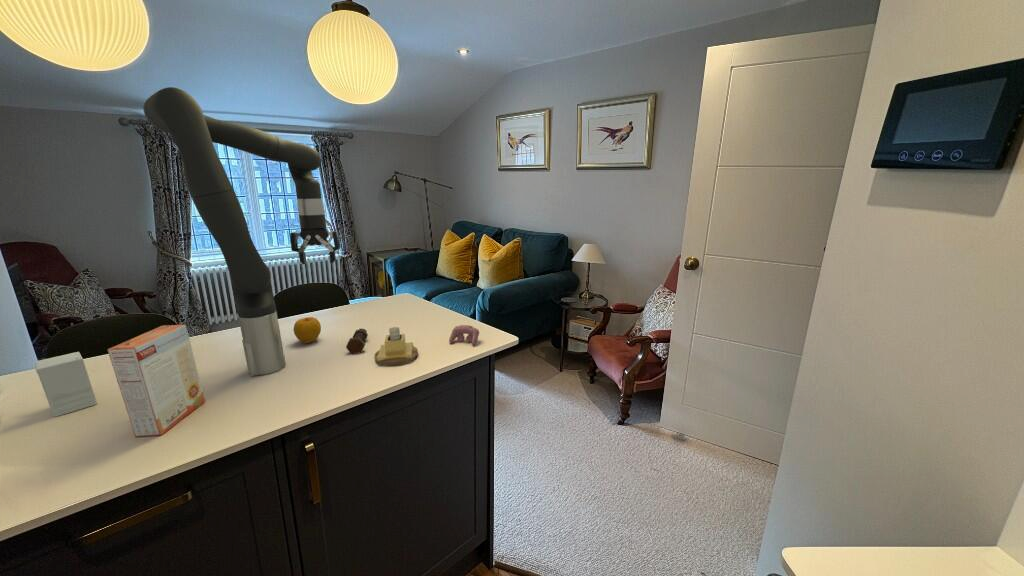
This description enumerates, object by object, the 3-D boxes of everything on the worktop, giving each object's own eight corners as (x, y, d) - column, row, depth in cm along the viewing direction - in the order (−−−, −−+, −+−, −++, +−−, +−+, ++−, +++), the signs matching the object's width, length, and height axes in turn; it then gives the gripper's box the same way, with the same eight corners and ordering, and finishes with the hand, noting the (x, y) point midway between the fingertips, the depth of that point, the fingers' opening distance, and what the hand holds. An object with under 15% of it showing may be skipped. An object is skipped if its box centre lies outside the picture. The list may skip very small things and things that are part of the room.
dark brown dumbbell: (365, 341, 139) (358, 357, 125) (352, 336, 138) (343, 351, 123) (372, 327, 139) (366, 341, 124) (359, 322, 137) (351, 335, 123)
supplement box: (94, 395, 100) (80, 350, 97) (97, 404, 96) (83, 358, 93) (51, 407, 95) (35, 360, 92) (52, 418, 90) (35, 369, 87)
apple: (312, 347, 130) (308, 322, 127) (289, 346, 131) (285, 321, 129) (327, 338, 138) (324, 314, 135) (306, 336, 139) (302, 313, 137)
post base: (417, 363, 116) (414, 334, 114) (372, 368, 114) (369, 338, 111) (418, 347, 129) (416, 320, 126) (378, 350, 126) (375, 323, 124)
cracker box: (181, 403, 96) (161, 324, 91) (206, 402, 96) (188, 323, 91) (131, 438, 82) (105, 347, 77) (161, 436, 83) (136, 346, 78)
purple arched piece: (479, 347, 132) (481, 326, 134) (474, 346, 128) (477, 325, 129) (452, 344, 135) (455, 324, 136) (447, 343, 130) (450, 323, 132)
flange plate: (411, 357, 117) (410, 342, 116) (377, 360, 115) (375, 345, 114) (413, 345, 127) (412, 330, 125) (381, 347, 125) (380, 333, 123)
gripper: (282, 214, 117) (291, 266, 121) (332, 213, 120) (339, 264, 124) (291, 213, 124) (298, 262, 128) (338, 212, 127) (344, 260, 131)
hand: (318, 263), depth 126 cm, fingers open, 8 cm apart
